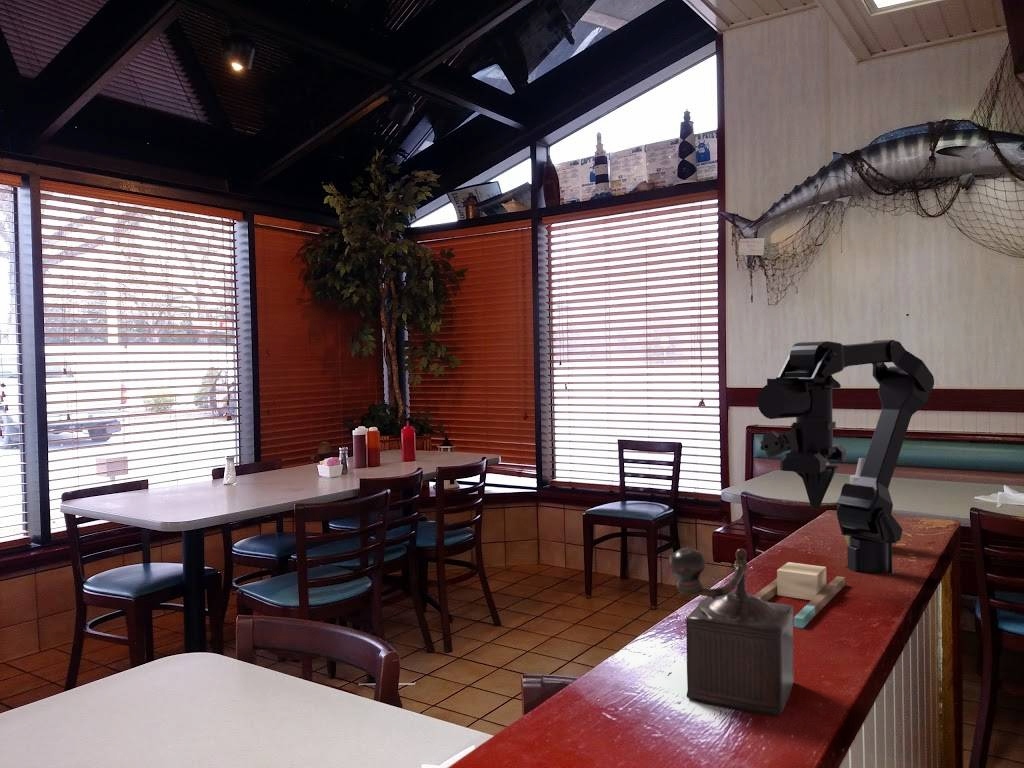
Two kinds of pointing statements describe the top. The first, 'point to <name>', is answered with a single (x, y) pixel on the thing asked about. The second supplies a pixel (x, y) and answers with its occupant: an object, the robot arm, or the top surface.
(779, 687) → the dark manual coffee grinder
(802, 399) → the robot arm
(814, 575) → the block
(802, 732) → the top surface
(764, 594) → the chute
